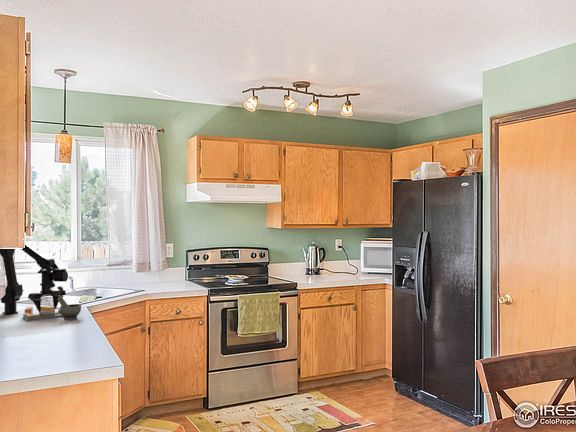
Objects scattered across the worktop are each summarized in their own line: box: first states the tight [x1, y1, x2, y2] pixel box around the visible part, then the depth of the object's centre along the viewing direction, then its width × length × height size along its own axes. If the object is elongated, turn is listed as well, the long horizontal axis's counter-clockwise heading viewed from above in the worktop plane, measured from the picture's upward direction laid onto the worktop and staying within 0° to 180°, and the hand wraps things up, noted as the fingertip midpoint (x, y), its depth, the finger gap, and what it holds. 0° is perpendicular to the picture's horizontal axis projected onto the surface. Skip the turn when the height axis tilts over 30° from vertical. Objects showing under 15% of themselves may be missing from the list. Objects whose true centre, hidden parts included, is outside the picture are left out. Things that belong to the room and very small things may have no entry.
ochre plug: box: [41, 305, 56, 313], centre depth 275 cm, size 9×3×4 cm, turn 60°
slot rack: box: [22, 308, 64, 322], centre depth 264 cm, size 10×20×3 cm, turn 130°
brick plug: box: [24, 306, 34, 315], centre depth 269 cm, size 9×3×4 cm, turn 21°
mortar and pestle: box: [57, 296, 82, 322], centre depth 258 cm, size 11×9×12 cm
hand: (47, 310), depth 274 cm, fingers open, 9 cm apart
